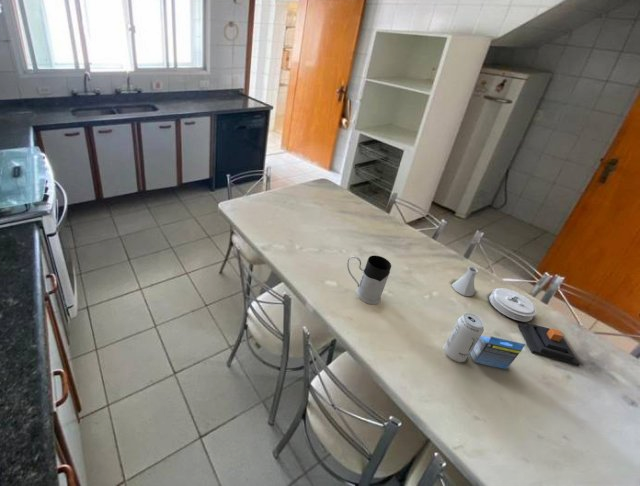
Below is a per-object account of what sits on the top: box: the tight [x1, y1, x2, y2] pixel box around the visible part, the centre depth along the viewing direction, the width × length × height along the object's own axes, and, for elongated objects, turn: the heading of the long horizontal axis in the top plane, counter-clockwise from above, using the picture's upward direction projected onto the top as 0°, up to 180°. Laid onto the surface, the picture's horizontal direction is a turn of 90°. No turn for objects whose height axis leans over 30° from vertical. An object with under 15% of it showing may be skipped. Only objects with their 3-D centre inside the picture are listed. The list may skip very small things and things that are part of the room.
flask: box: [451, 266, 479, 297], centre depth 121 cm, size 7×7×10 cm
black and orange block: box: [535, 325, 568, 353], centre depth 102 cm, size 5×7×5 cm
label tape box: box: [469, 335, 526, 370], centre depth 94 cm, size 9×4×12 cm, turn 78°
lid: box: [488, 287, 537, 323], centre depth 116 cm, size 13×13×5 cm
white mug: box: [346, 255, 392, 306], centre depth 115 cm, size 9×14×15 cm, turn 60°
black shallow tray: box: [517, 322, 581, 367], centre depth 104 cm, size 12×11×2 cm
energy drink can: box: [443, 313, 485, 363], centre depth 95 cm, size 6×6×15 cm
